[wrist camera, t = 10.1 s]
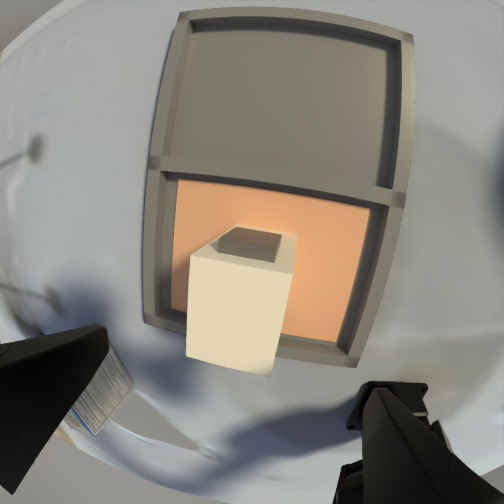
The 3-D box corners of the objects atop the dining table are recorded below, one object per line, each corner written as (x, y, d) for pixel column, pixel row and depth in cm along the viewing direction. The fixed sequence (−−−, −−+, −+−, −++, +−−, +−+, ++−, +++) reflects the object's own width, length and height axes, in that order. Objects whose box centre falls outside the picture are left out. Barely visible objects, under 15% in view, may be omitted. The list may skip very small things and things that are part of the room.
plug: (283, 303, 19) (270, 376, 11) (228, 292, 20) (186, 356, 12) (298, 225, 18) (295, 259, 10) (238, 214, 18) (191, 240, 10)
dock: (353, 356, 20) (355, 368, 18) (153, 315, 22) (144, 323, 21) (406, 42, 13) (413, 34, 11) (187, 20, 15) (179, 12, 14)
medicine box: (78, 327, 25) (26, 366, 17) (102, 323, 24) (46, 368, 15) (110, 384, 26) (70, 429, 18) (136, 385, 25) (95, 437, 17)
